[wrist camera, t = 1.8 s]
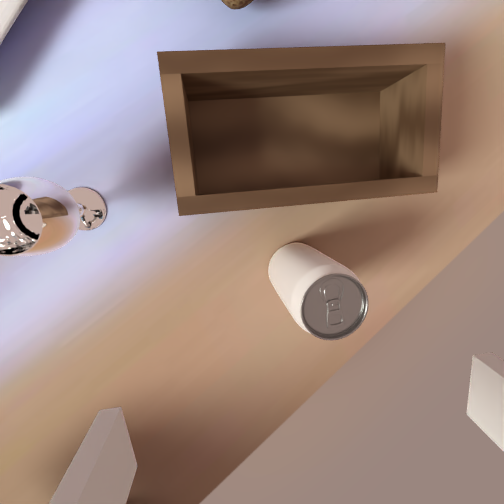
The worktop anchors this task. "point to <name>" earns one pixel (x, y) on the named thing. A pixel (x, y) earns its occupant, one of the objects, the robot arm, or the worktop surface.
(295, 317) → the can
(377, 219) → the worktop surface
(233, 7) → the natural sponge
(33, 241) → the wineglass
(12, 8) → the tray
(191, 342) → the worktop surface
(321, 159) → the narrow open box
